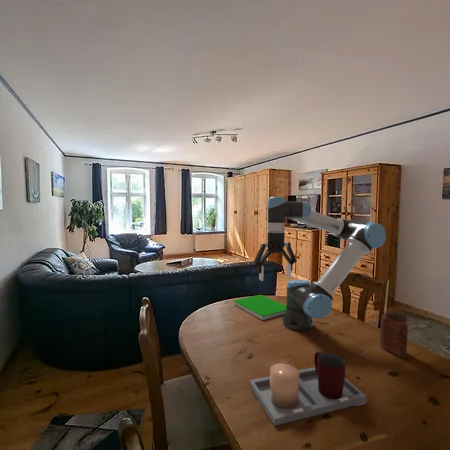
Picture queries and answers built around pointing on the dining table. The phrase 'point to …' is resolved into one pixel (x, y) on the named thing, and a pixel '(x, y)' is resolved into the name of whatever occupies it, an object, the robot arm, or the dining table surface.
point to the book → (261, 306)
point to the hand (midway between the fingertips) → (275, 279)
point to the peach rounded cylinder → (284, 386)
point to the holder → (305, 398)
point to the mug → (330, 374)
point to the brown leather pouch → (394, 333)
